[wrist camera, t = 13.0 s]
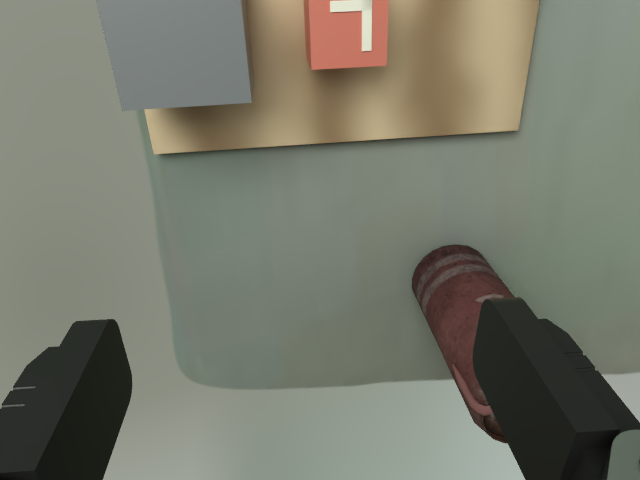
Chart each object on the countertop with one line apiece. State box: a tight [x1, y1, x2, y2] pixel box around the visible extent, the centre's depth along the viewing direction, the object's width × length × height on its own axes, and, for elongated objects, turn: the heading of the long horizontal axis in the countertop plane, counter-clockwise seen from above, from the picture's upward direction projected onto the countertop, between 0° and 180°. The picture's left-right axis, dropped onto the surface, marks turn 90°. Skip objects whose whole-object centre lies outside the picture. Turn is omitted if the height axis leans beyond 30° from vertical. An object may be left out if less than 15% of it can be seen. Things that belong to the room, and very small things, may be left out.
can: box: [412, 245, 515, 443], centre depth 32 cm, size 6×6×14 cm
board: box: [144, 0, 540, 154], centre depth 28 cm, size 24×14×1 cm, turn 92°
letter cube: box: [303, 0, 389, 70], centre depth 26 cm, size 4×4×4 cm
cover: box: [96, 0, 254, 111], centre depth 25 cm, size 6×6×6 cm
